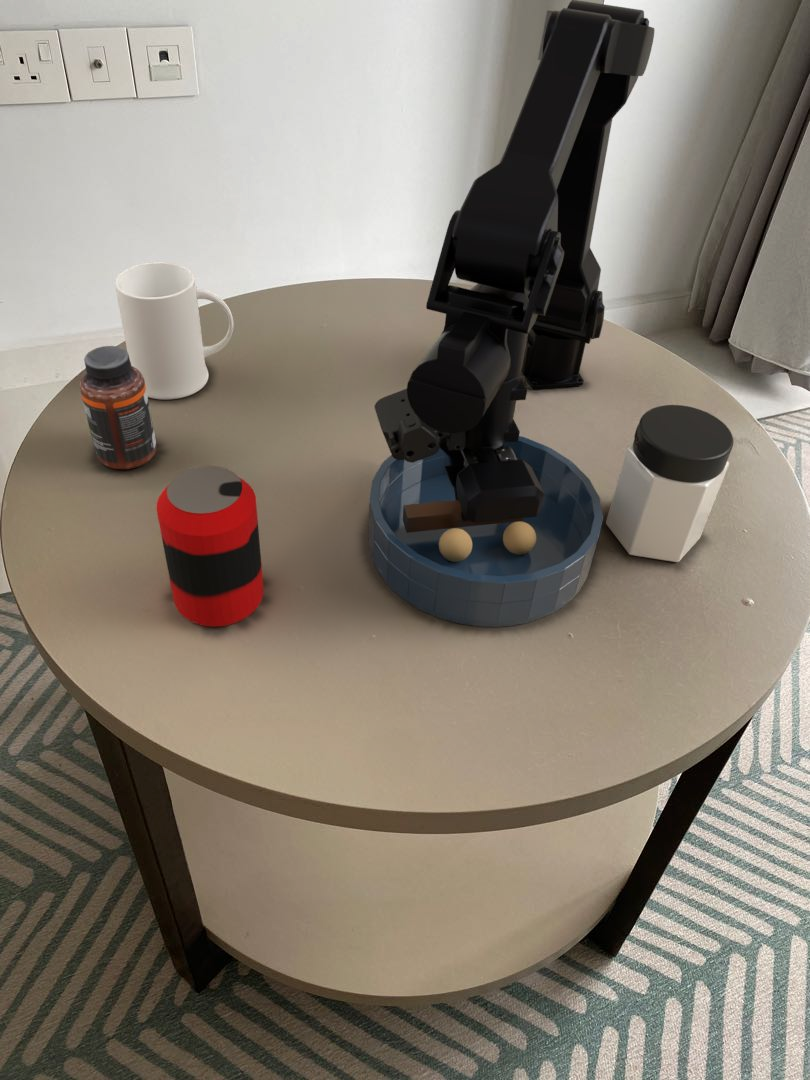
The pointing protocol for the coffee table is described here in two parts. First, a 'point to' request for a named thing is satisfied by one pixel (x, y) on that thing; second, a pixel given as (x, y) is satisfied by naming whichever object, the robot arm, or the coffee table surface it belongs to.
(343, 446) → the coffee table surface
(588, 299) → the robot arm
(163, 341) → the mug
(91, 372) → the supplement bottle
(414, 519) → the stick
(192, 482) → the soda can
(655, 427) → the jar
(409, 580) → the bowl
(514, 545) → the cork ball
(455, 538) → the cork ball
